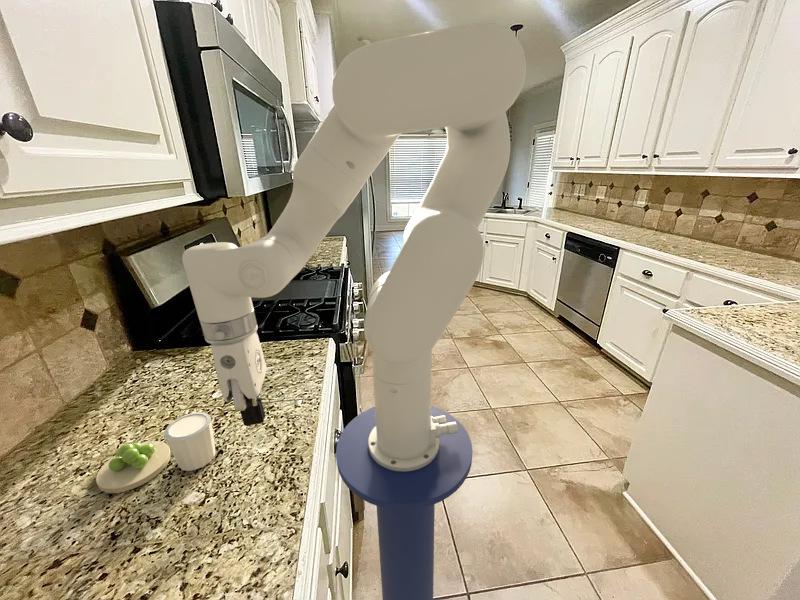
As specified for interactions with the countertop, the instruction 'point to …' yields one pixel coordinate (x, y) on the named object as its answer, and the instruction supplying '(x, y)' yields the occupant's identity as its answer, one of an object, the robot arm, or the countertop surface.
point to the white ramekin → (191, 440)
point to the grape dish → (133, 474)
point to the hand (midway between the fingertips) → (255, 421)
